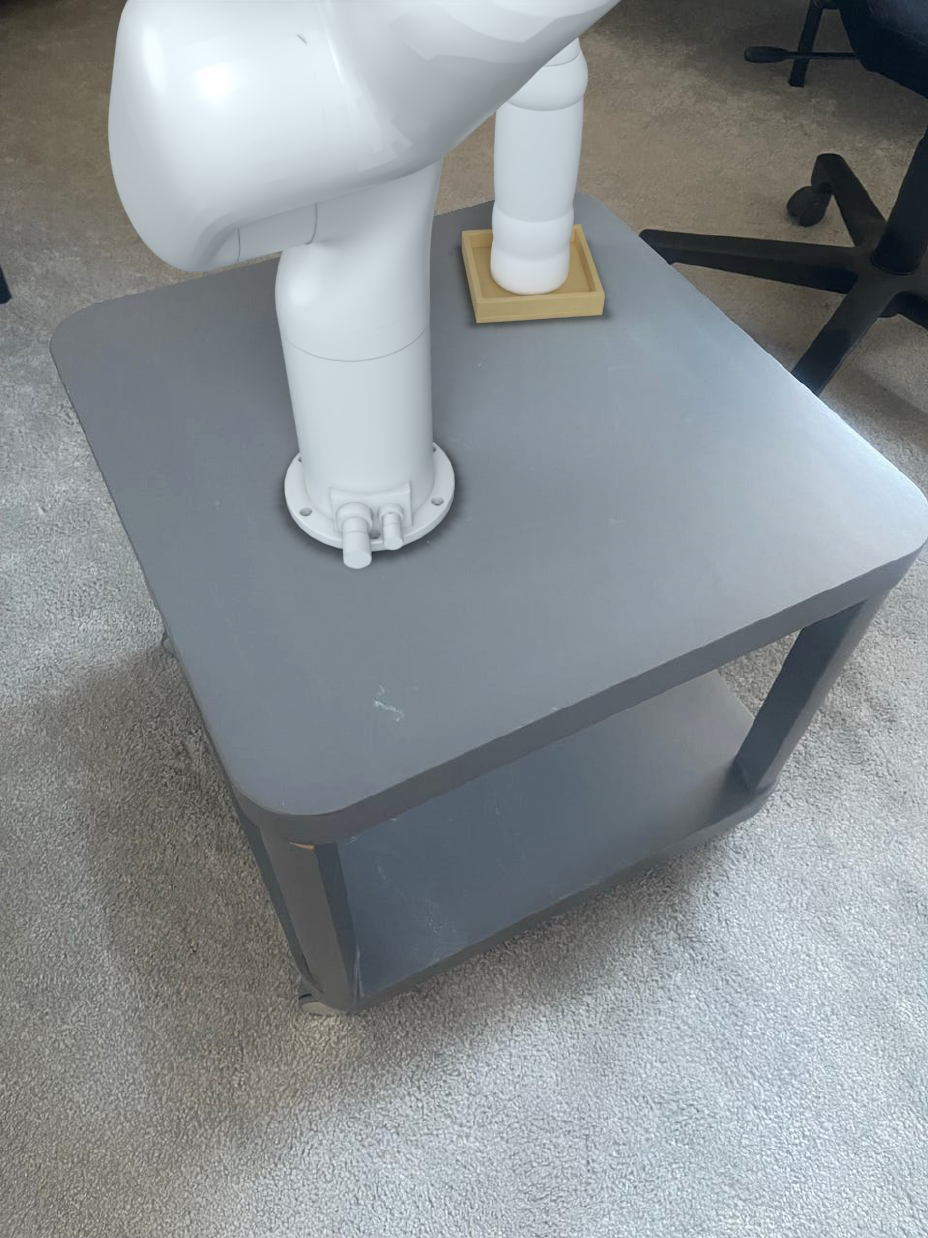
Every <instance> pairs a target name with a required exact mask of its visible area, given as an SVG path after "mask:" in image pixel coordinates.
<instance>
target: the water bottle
mask: <svg viewBox="0 0 928 1238" xmlns="http://www.w3.org/2000/svg"><path fill="white" fill-rule="evenodd" d="M588 83H589V70H588V64H587V61H586V58H585V55H584V53H583V50H582V48H581V43H580V38H579V37H577V38H576V39H575V40H574V41H573V42H571V43H570V44H569V45H568V46H566V47H565V48H564V49H563V50H562V51H560V52H559V53H558V54H557V55H556V56H554V57H553V58H552V59H551V60H550V61H549V62H548V63H546V64H545V65H544V66H543V67H542V68H541V69H540V70H539V71H538V72H537V73H536V74H535V75H534V76H533V77H532V78H531V79H530V80H529V81H528V82H527V83H526V84H525V85H524V86H523V87H522V88H521V89H520V90H519V91H518V92H517V93H516V94H515V95H513V96H512V97H511V98H510V99H509V100H508V101H507V102H506V103H504V104H503V105H502V106H501V107H500V108H499V109H498V110H497V111H495V125H494V143H493V147H494V148H493V187H494V188H493V189H494V202H493V205H492V206H493V207H492V213H491V229H492V230H493V243H492V249H491V263H490V268H491V275H492V277H493V279H494V281H495V282H496V283H497V284H498V285H499V286H500V287H502V288H503V289H505V290H507V291H509V292H511V293H514V294H517V295H523V296H533V295H544V294H547V293H550V292H552V291H554V290H556V289H558V288H559V287H560V286H561V285H562V284H563V283H564V282H565V281H566V279H567V276H568V272H569V264H570V238H571V234H572V229H573V224H574V221H575V220H574V219H575V218H574V217H575V209H574V208H575V207H574V200H575V194H576V190H577V189H576V188H577V184H578V183H577V182H578V177H579V169H580V160H581V150H582V139H583V129H584V128H583V127H584V95H585V93H586V90H587V87H588Z"/></svg>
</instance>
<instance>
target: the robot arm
mask: <svg viewBox="0 0 928 1238" xmlns="http://www.w3.org/2000/svg"><path fill="white" fill-rule="evenodd" d="M621 1H622V0H126V2H125V4H124V7H123V9H122V11H121V14H120V18H119V22H118V28H117V31H116V41H115V47H114V48H115V50H114V58H113V67H112V75H111V85H110V94H109V105H108V117H107V118H108V120H107V137H108V150H109V159H110V166H111V171H112V176H113V180H114V183H115V187H116V191H117V193H118V196H119V200H120V202H121V205H122V207H123V209H124V211H125V213H126V215H127V217H128V219H129V221H130V223H131V224H132V226H133V228H134V230H135V232H136V233H137V234H138V236H139V238H140V239H141V240H142V241H143V243H144V244H145V246H147V247H148V249H149V250H150V251H151V252H152V253H153V254H154V255H155V256H156V257H158V258H159V259H160V260H161V261H163V262H164V263H166V264H167V265H169V266H170V267H172V268H175V269H177V270H179V271H182V272H183V271H184V272H187V273H204V272H209V271H215V270H217V269H222V268H225V267H228V266H233V265H237V264H241V263H244V262H247V261H251V260H255V259H258V258H262V257H264V256H268V255H272V254H276V253H279V252H281V255H280V258H279V262H278V266H277V270H276V271H277V272H276V276H275V284H274V300H275V301H274V302H275V311H276V318H277V322H278V329H279V335H280V340H281V341H280V342H281V346H282V347H281V348H282V353H283V359H284V365H285V370H286V377H287V378H286V379H287V383H288V389H289V394H290V395H289V396H290V401H291V407H292V413H293V414H292V415H293V420H294V425H295V432H296V437H297V444H298V450H299V452H298V453H297V454H296V455H295V456H294V457H293V459H292V460H291V462H290V464H289V466H288V468H287V470H286V474H285V477H284V496H285V501H286V507H287V510H288V511H289V513H290V516H291V518H292V519H293V520H294V522H295V523H296V524H297V525H298V527H299V528H300V529H301V530H302V531H304V532H305V533H306V534H308V536H310V537H311V538H313V539H315V540H317V541H318V542H321V543H323V544H325V545H328V546H331V547H333V548H336V549H341V550H342V558H343V564H344V565H345V566H346V567H347V568H350V569H353V570H358V569H359V570H361V569H364V568H366V567H368V566H369V565H370V564H371V563H372V559H373V555H372V552H379V551H388V550H389V551H396V550H399V549H401V548H402V547H403V546H406V545H409V544H410V543H413V542H416V541H417V540H419V539H421V538H423V537H424V536H426V535H427V534H429V533H430V532H432V531H433V530H435V528H436V527H437V526H438V525H439V524H440V523H441V522H442V521H443V520H444V519H445V517H446V516H447V514H448V513H449V511H450V509H451V507H452V504H453V501H454V498H455V491H456V484H455V483H456V482H455V481H456V479H455V471H454V469H453V468H454V467H453V465H452V464H453V463H452V462H451V460H450V458H449V457H448V455H447V454H446V452H445V451H444V450H443V449H442V448H441V446H439V445H438V444H437V442H435V441H434V435H433V432H434V431H433V394H432V393H433V392H432V391H433V389H432V353H431V351H432V350H431V348H432V346H431V282H430V280H431V277H430V276H431V273H430V272H431V242H432V232H433V223H434V215H435V210H436V203H437V197H438V193H439V187H440V184H441V183H440V182H441V176H442V171H443V162H444V157H446V156H447V155H448V154H450V153H451V152H452V151H454V150H455V149H456V148H457V147H458V146H459V145H460V144H461V143H462V142H463V141H465V140H466V139H467V138H468V137H469V136H470V135H471V134H472V133H474V131H475V130H476V129H478V128H479V127H480V126H481V125H482V124H483V123H484V122H485V121H487V119H489V118H490V117H491V116H492V115H493V114H494V113H496V111H497V110H498V109H499V108H500V107H501V106H502V105H503V104H504V103H506V102H507V101H508V100H509V99H510V98H511V97H512V96H513V95H515V94H516V93H517V92H518V91H519V90H520V89H521V88H522V87H523V86H524V85H525V84H526V83H527V82H528V81H529V80H530V79H531V78H532V77H533V76H534V75H535V74H536V73H537V72H538V71H539V70H540V69H541V68H542V67H543V66H544V65H545V64H546V63H548V62H549V61H550V60H551V59H552V58H553V57H554V56H556V55H557V54H558V53H559V52H560V51H562V50H563V49H564V48H565V47H566V46H568V45H569V44H570V43H571V42H573V41H574V40H575V39H576V38H577V37H578V38H579V37H580V36H582V34H584V33H585V32H586V31H587V30H589V29H590V28H591V27H592V26H593V25H594V24H596V23H597V22H598V21H599V20H601V18H602V17H604V16H605V15H606V14H608V12H610V11H611V10H612V9H614V8H615V6H616V5H618V4H619V3H620V2H621Z"/></svg>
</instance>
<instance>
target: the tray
mask: <svg viewBox="0 0 928 1238" xmlns="http://www.w3.org/2000/svg"><path fill="white" fill-rule="evenodd" d="M492 243H493V230H492V228H489V229H488V228H487V229H472V230H471V229H470V230H462V231H461V253H462V258H463V263H464V268H465V272H466V278H467V284H468V288H469V292H470V297H471V298H470V299H471V302H472V307H473V314H474V317H475V322H476V324H486V323H487V324H488V323H503V322H516V321H517V322H518V321H534V320H548V319H562V318H565V319H566V318H578V317H593V316H594V317H595V316H602V315H603V312H604V305H605V298H606V293H605V290H604V287H603V285H602V282H601V279H600V276H599V274H598V271H597V267H596V265H595V261H594V258H593V255H592V252H591V249H590V247H589V246H590V245H589V243H588V241H587V238H586V235H585V231H584V229H583V226H582V223H573V229H572V234H571V238H570V264H569V272H568V276H567V279H566V281H565V282H564V283H563V284H562V285H561V286H560V287H559V288H558V289H556V290H554V291H552V292H550V293H547V294H544V295H533V296H523V295H517V294H514V293H511V292H509V291H507V290H505V289H503V288H502V287H500V286H499V285H498V284H497V283H496V282H495V281H494V279H493V277H492V275H491V268H490V263H491V249H492Z"/></svg>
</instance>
